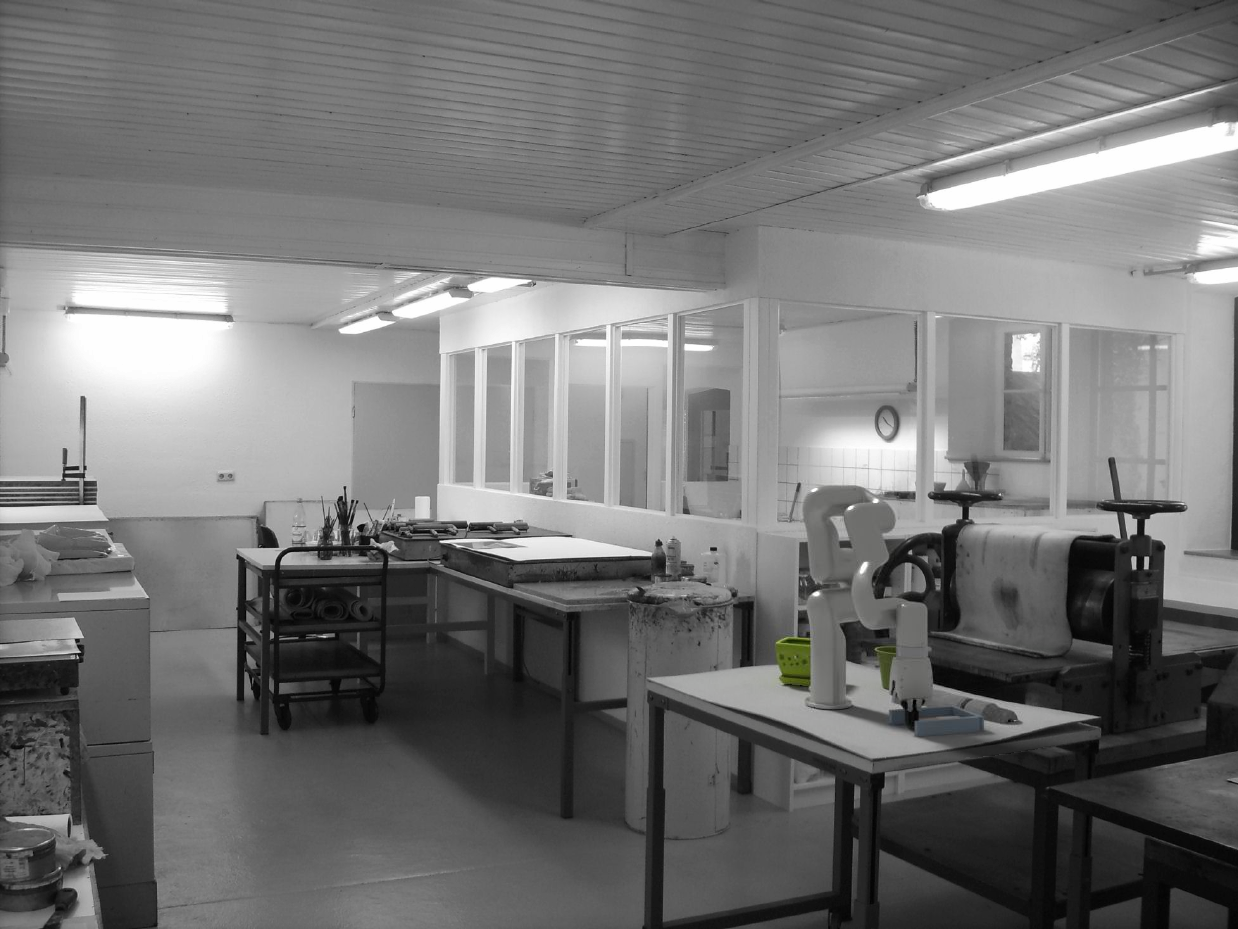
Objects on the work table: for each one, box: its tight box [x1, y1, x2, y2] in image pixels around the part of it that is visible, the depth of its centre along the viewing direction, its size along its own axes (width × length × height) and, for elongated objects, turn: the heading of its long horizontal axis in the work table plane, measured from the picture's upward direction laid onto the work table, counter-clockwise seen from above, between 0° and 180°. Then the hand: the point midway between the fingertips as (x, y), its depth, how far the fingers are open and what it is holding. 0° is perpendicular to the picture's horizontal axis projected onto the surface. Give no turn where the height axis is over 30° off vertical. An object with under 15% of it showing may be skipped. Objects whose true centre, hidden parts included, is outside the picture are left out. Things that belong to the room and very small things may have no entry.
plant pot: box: [874, 645, 896, 690], centre depth 313 cm, size 12×12×11 cm
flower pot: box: [774, 636, 811, 687], centre depth 320 cm, size 14×14×13 cm
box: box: [888, 705, 985, 737], centre depth 267 cm, size 13×19×4 cm
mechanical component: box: [911, 688, 1019, 725], centre depth 285 cm, size 9×4×30 cm
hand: (911, 726), depth 265 cm, fingers closed
